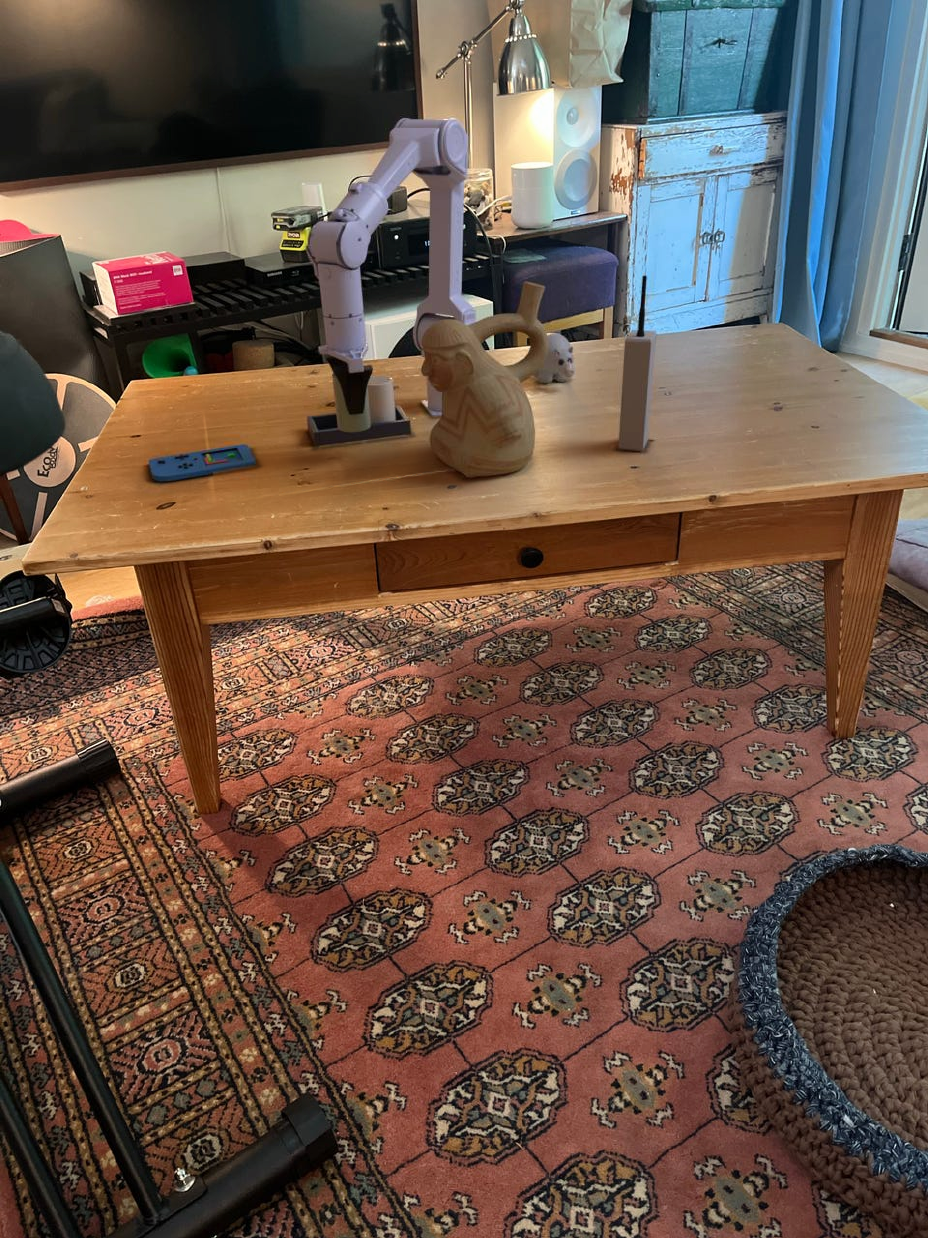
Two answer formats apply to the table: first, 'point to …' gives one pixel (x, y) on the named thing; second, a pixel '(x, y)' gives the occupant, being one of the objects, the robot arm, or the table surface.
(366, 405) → the green cup
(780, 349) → the table surface
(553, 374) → the chubby cartoon animal
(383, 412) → the cream cup
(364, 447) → the table surface
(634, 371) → the vintage mobile phone
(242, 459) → the handheld gaming device
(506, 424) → the ceramic vessel
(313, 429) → the cup holder
